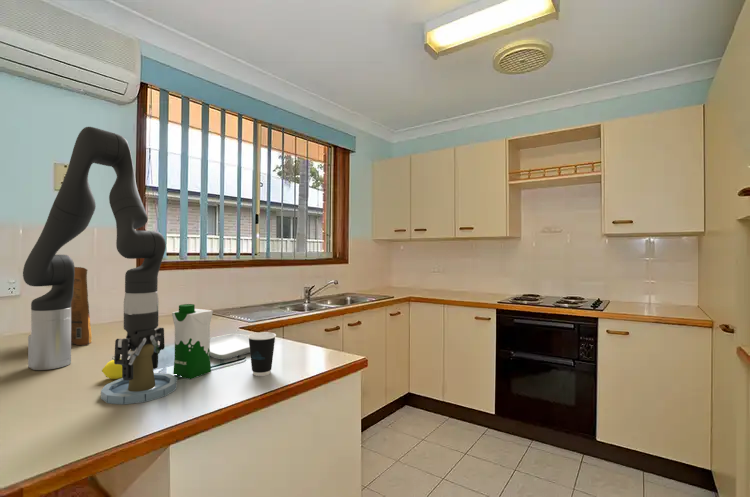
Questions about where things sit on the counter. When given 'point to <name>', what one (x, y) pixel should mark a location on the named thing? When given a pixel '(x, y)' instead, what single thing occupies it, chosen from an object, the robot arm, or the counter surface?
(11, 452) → the counter surface
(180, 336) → the milk carton
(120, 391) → the round dish
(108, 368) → the lemon
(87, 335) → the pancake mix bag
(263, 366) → the dixie cup
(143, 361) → the tan pawn shape
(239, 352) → the salad plate
